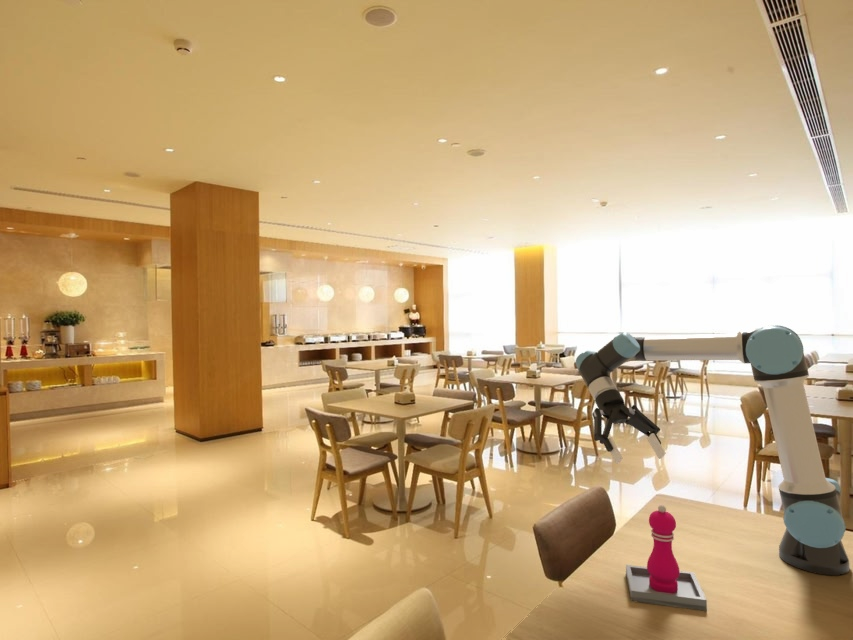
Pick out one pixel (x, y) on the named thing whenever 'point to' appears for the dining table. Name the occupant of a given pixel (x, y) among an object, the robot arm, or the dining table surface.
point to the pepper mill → (662, 553)
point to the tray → (685, 596)
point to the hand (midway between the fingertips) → (641, 458)
